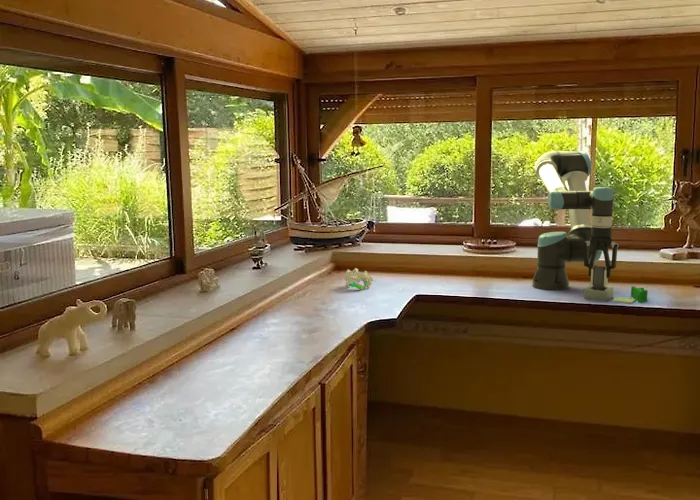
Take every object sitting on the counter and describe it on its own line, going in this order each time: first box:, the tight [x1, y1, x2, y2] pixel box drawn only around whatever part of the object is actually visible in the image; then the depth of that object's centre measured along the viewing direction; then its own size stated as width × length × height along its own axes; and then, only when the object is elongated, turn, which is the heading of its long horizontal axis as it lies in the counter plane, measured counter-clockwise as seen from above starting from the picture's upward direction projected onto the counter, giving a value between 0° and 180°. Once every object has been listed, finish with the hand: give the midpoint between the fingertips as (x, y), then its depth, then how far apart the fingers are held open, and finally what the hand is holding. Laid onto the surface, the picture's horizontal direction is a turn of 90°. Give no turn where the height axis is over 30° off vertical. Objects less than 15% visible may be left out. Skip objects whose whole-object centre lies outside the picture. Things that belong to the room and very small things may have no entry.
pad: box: [612, 296, 637, 305], centre depth 275 cm, size 7×7×1 cm
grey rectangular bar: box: [593, 264, 606, 290], centre depth 280 cm, size 4×4×13 cm
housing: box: [583, 284, 614, 302], centre depth 281 cm, size 9×9×4 cm
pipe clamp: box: [630, 285, 648, 304], centre depth 277 cm, size 11×4×5 cm, turn 174°
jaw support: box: [344, 267, 374, 291], centre depth 302 cm, size 12×9×10 cm
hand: (598, 284), depth 281 cm, fingers closed on grey rectangular bar, 4 cm apart
